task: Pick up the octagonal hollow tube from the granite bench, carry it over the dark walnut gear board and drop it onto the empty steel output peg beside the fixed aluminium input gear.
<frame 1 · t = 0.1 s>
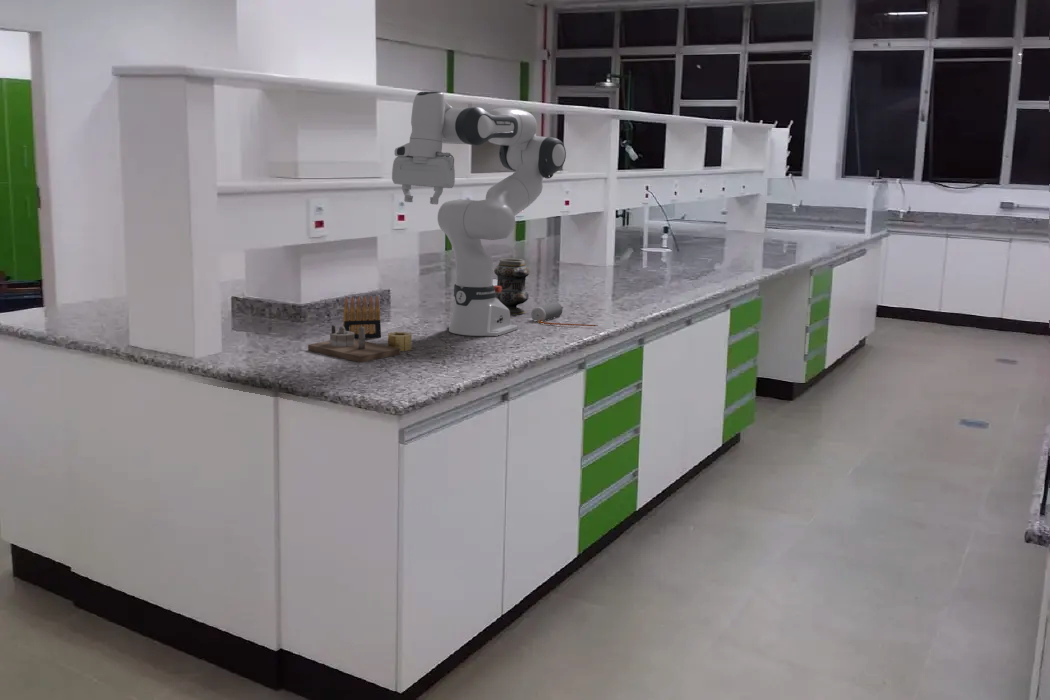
hand: (421, 203, 256), 39 cm above the worktop, tool pointing down, fingers open, 8 cm apart
ammunition clip: (361, 338, 268), on the worktop
apothecary jar: (510, 312, 318), on the worktop
octagonal hollow tube: (399, 348, 255), on the worktop
motor: (572, 323, 305), on the worktop
gear board: (353, 352, 248), on the worktop
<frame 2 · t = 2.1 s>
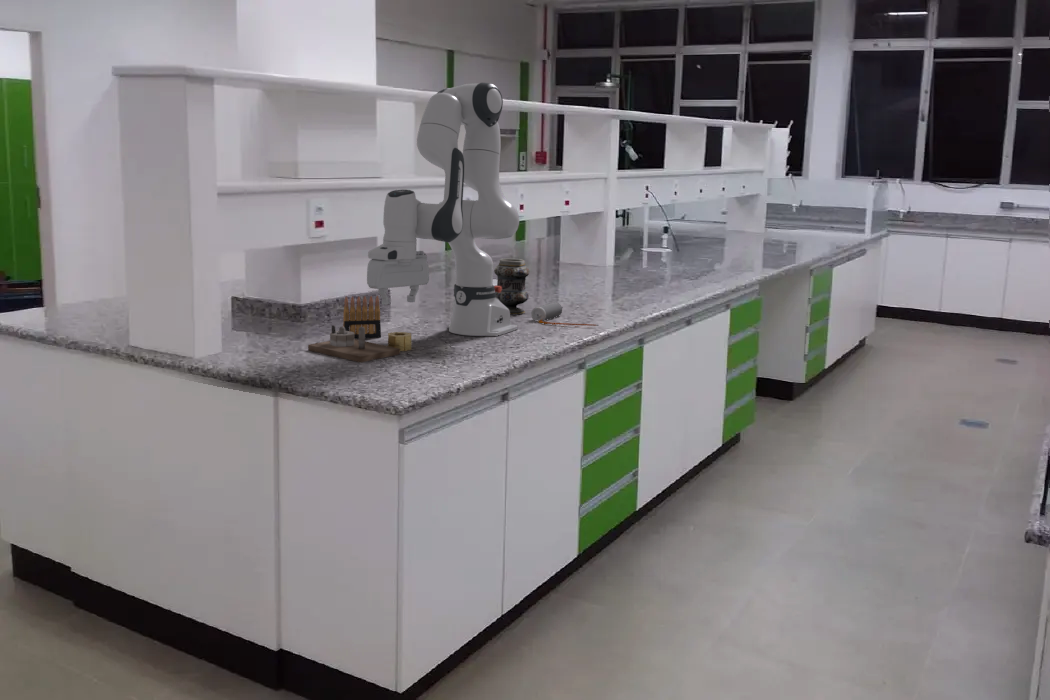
hand: (398, 303, 252), 12 cm above the worktop, tool pointing down, fingers open, 8 cm apart
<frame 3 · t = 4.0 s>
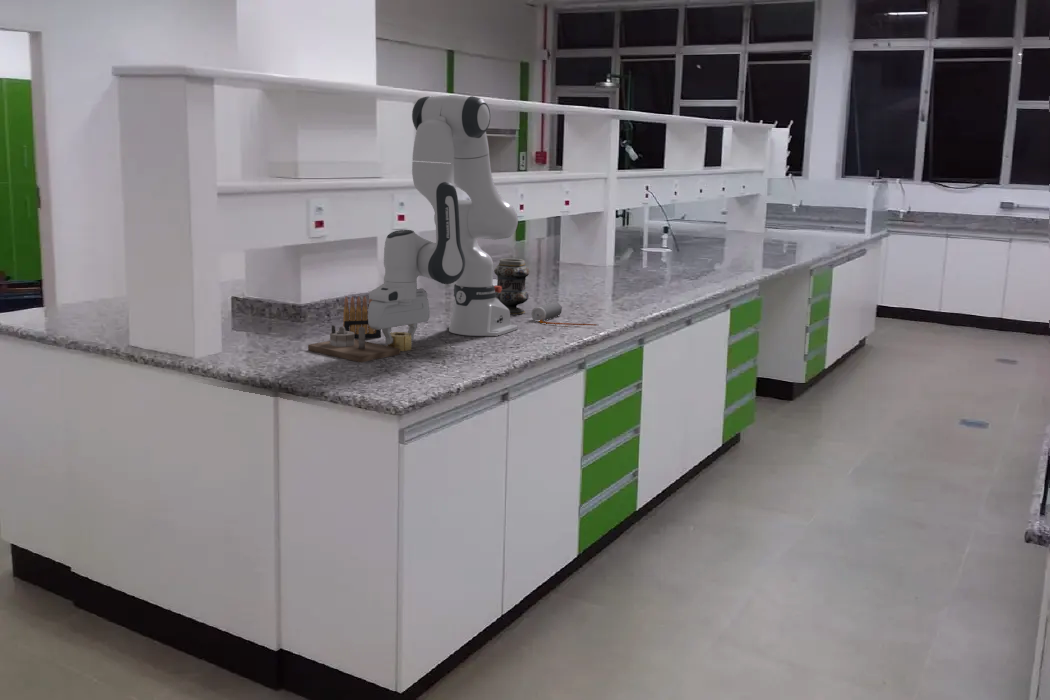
hand: (399, 341, 254), 2 cm above the worktop, tool pointing down, fingers closed on octagonal hollow tube, 6 cm apart
octagonal hollow tube: (399, 348, 255), on the worktop, touching gripper
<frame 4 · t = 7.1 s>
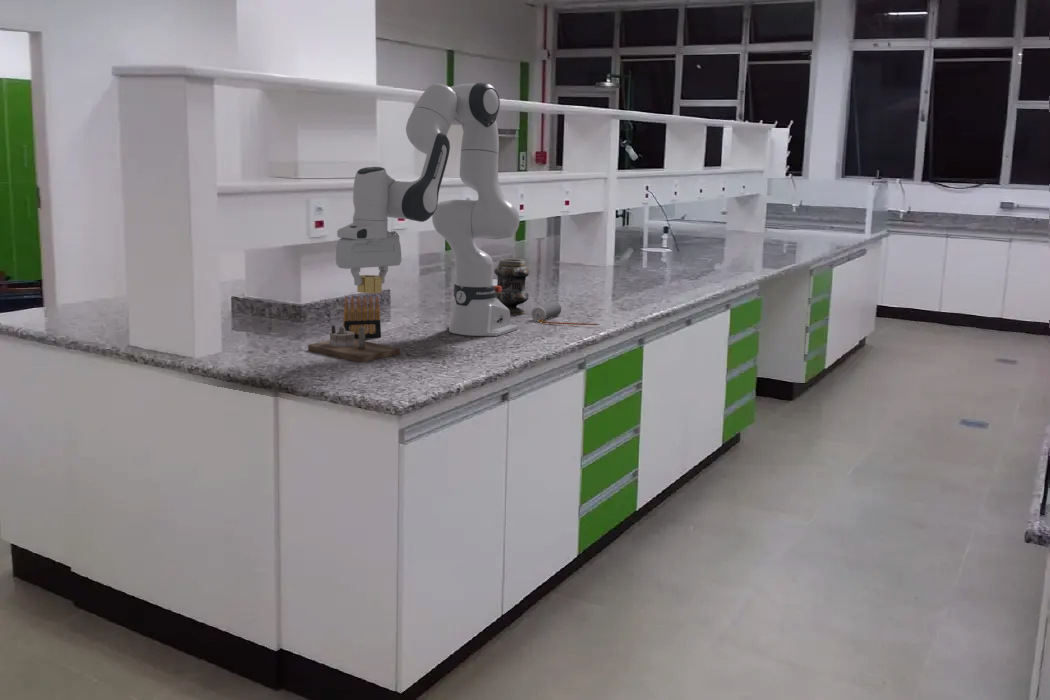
hand: (369, 284, 244), 18 cm above the worktop, tool pointing down, fingers closed on octagonal hollow tube, 6 cm apart
octagonal hollow tube: (369, 291, 245), point 16 cm above the worktop, touching gripper
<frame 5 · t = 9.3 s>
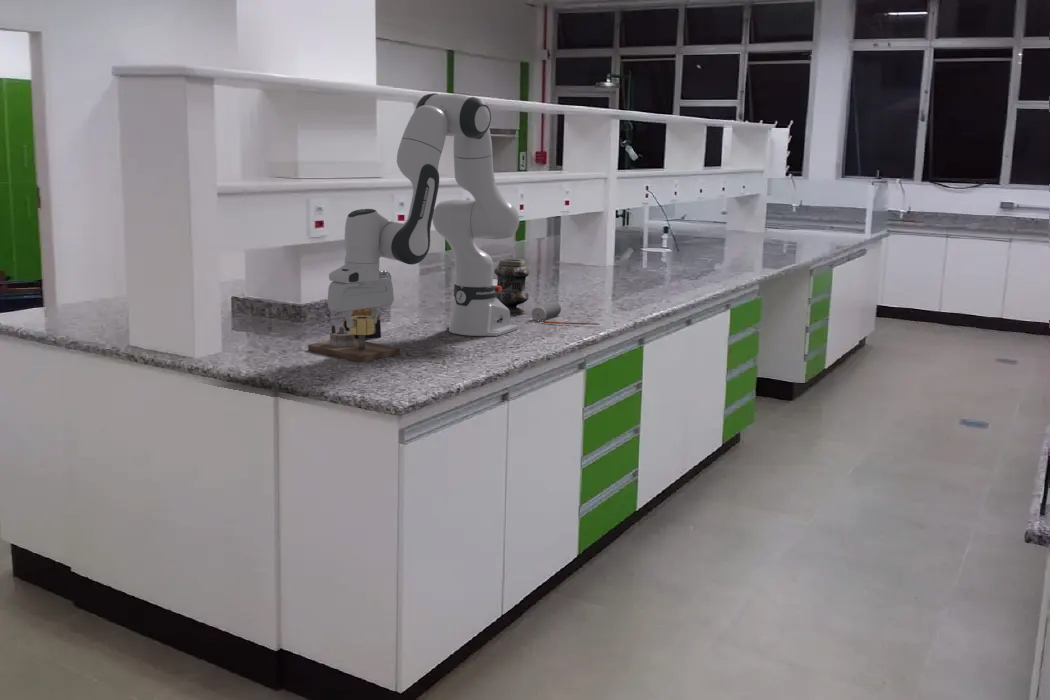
hand: (361, 325, 245), 8 cm above the worktop, tool pointing down, fingers closed on octagonal hollow tube, 6 cm apart
octagonal hollow tube: (362, 332, 245), point 6 cm above the worktop, touching gripper
when the fingers open (5 cm above the worktop, at t = 10.8 s): octagonal hollow tube drops 2 cm, resting on gear board.
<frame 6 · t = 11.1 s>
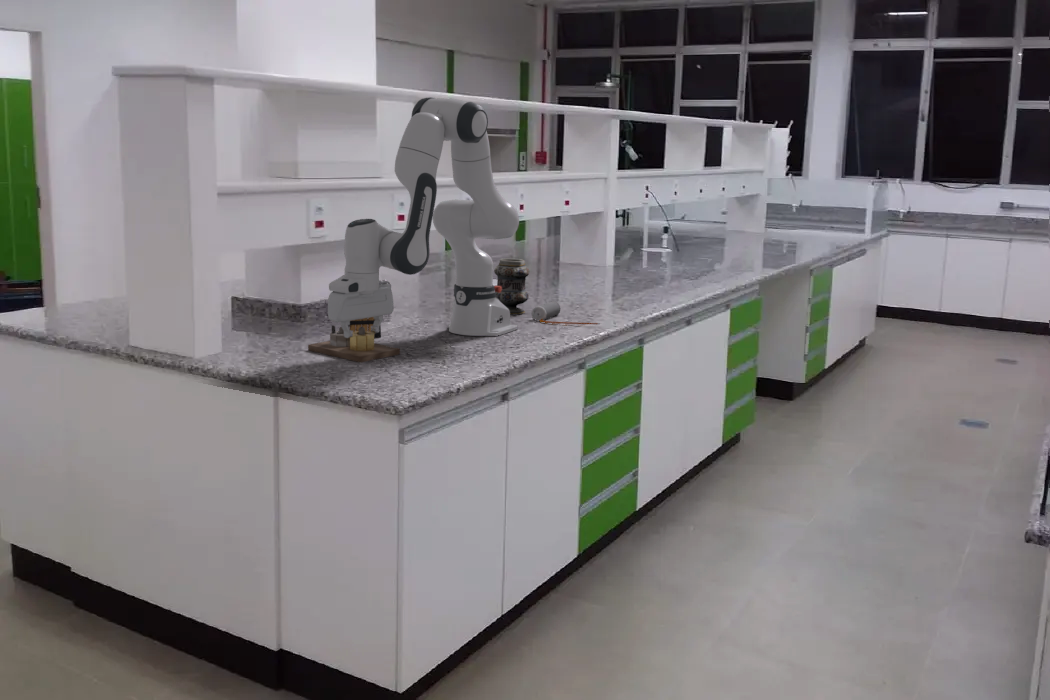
hand: (361, 335, 246), 5 cm above the worktop, tool pointing down, fingers open, 8 cm apart
octagonal hollow tube: (362, 348, 246), point 1 cm above the worktop, touching gear board
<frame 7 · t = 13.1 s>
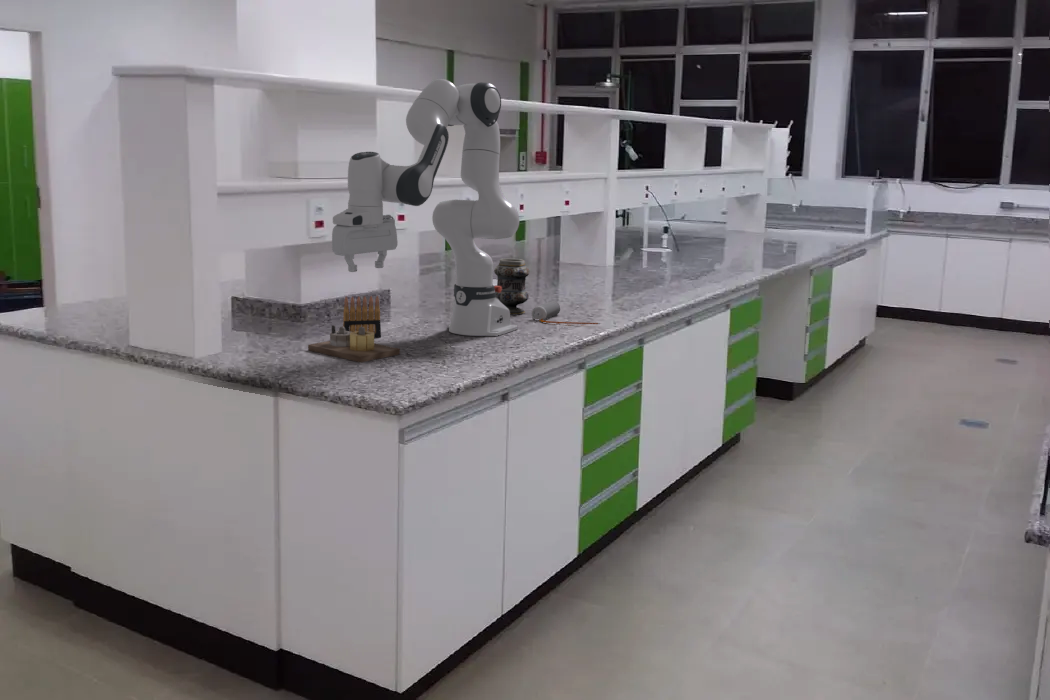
hand: (366, 269, 245), 22 cm above the worktop, tool pointing down, fingers open, 8 cm apart
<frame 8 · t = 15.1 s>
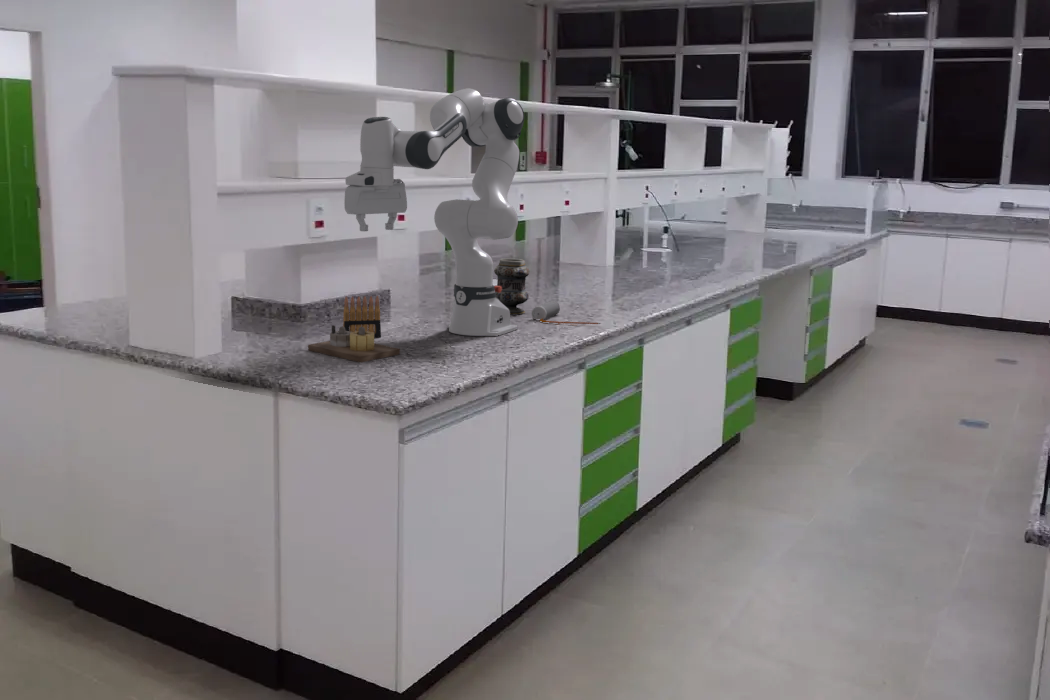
hand: (376, 230, 255), 31 cm above the worktop, tool pointing down, fingers open, 8 cm apart
at the end: octagonal hollow tube 0.1 cm from the target spot on the gear board, point 1.5 cm above the gear board's base; octagonal hollow tube tilted 0°; the gripper is holding nothing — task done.
